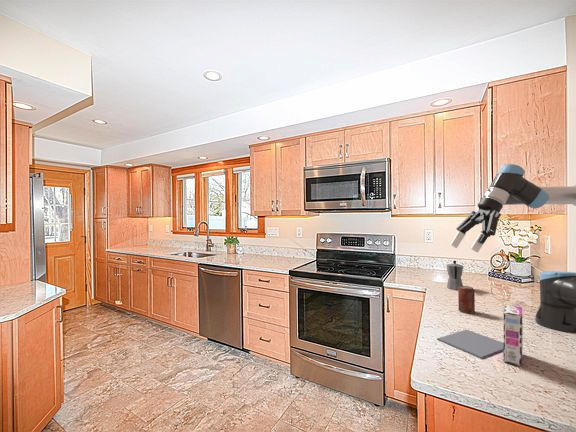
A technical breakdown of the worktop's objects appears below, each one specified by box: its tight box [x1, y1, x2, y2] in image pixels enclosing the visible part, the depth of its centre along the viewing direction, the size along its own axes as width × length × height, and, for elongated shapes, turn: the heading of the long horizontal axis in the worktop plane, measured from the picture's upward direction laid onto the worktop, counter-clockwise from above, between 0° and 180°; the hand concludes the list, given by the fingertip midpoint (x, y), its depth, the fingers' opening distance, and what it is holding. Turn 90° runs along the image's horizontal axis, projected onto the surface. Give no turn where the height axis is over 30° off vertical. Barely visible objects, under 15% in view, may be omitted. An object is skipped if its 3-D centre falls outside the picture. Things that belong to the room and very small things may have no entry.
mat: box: [436, 329, 504, 359], centre depth 108 cm, size 18×16×1 cm
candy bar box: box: [502, 304, 524, 367], centre depth 97 cm, size 11×5×16 cm, turn 141°
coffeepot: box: [446, 260, 464, 291], centre depth 185 cm, size 15×9×18 cm, turn 153°
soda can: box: [457, 285, 476, 315], centre depth 143 cm, size 7×7×12 cm
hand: (463, 248), depth 111 cm, fingers open, 13 cm apart
